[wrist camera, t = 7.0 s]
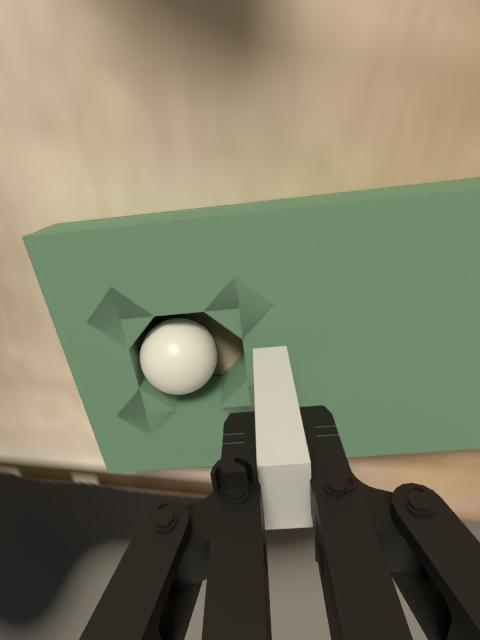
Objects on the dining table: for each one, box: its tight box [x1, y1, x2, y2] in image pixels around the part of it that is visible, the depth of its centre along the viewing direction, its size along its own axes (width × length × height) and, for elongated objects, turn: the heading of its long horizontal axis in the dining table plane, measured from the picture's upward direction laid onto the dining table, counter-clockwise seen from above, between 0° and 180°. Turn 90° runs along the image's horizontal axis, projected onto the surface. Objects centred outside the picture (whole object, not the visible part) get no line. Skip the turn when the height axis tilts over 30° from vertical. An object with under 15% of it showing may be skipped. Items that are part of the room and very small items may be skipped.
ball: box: [140, 318, 217, 395], centre depth 19 cm, size 4×4×4 cm
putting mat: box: [22, 178, 480, 473], centre depth 19 cm, size 28×14×3 cm, turn 96°
